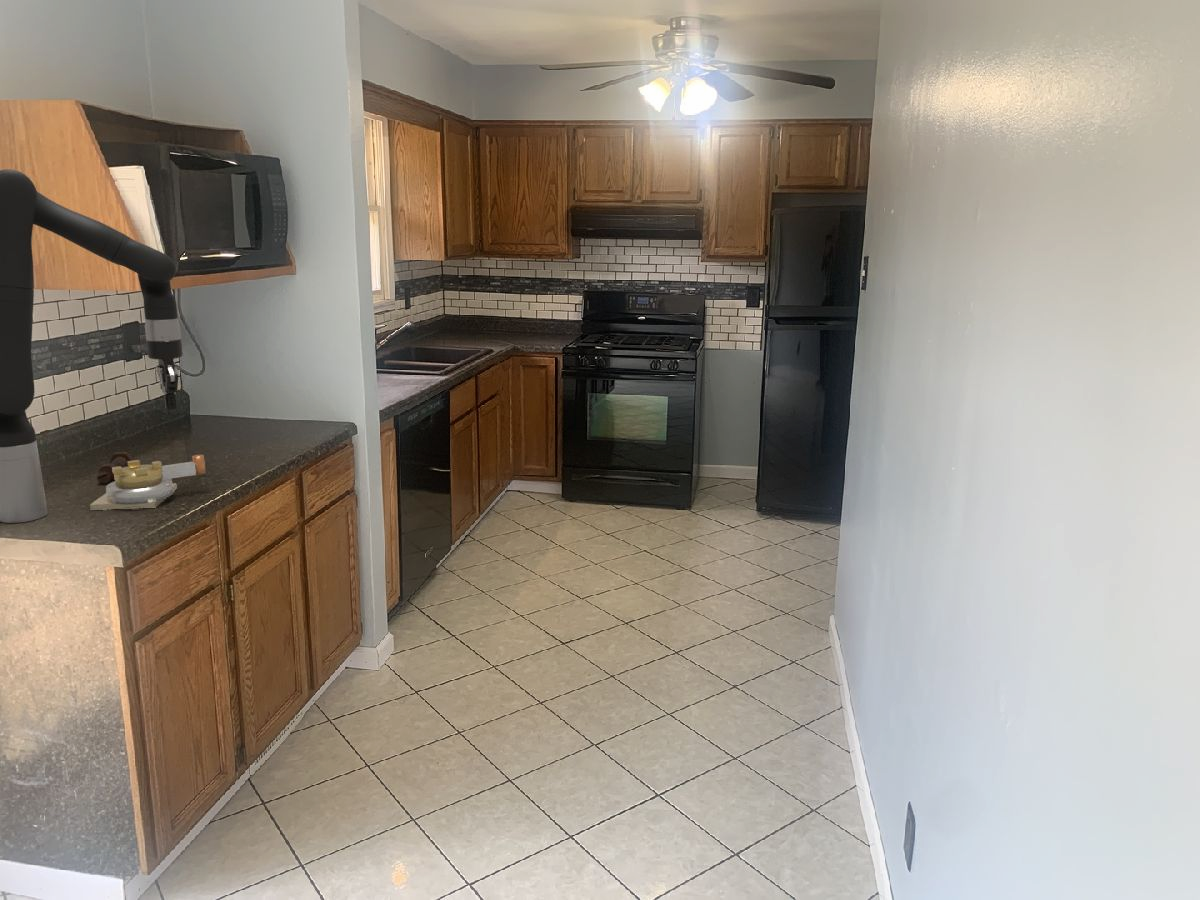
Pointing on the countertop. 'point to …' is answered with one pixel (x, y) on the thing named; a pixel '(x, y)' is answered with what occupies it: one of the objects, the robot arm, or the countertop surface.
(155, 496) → the cap housing
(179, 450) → the countertop surface
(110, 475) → the bolt
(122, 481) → the yellow disc with lever
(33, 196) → the robot arm
